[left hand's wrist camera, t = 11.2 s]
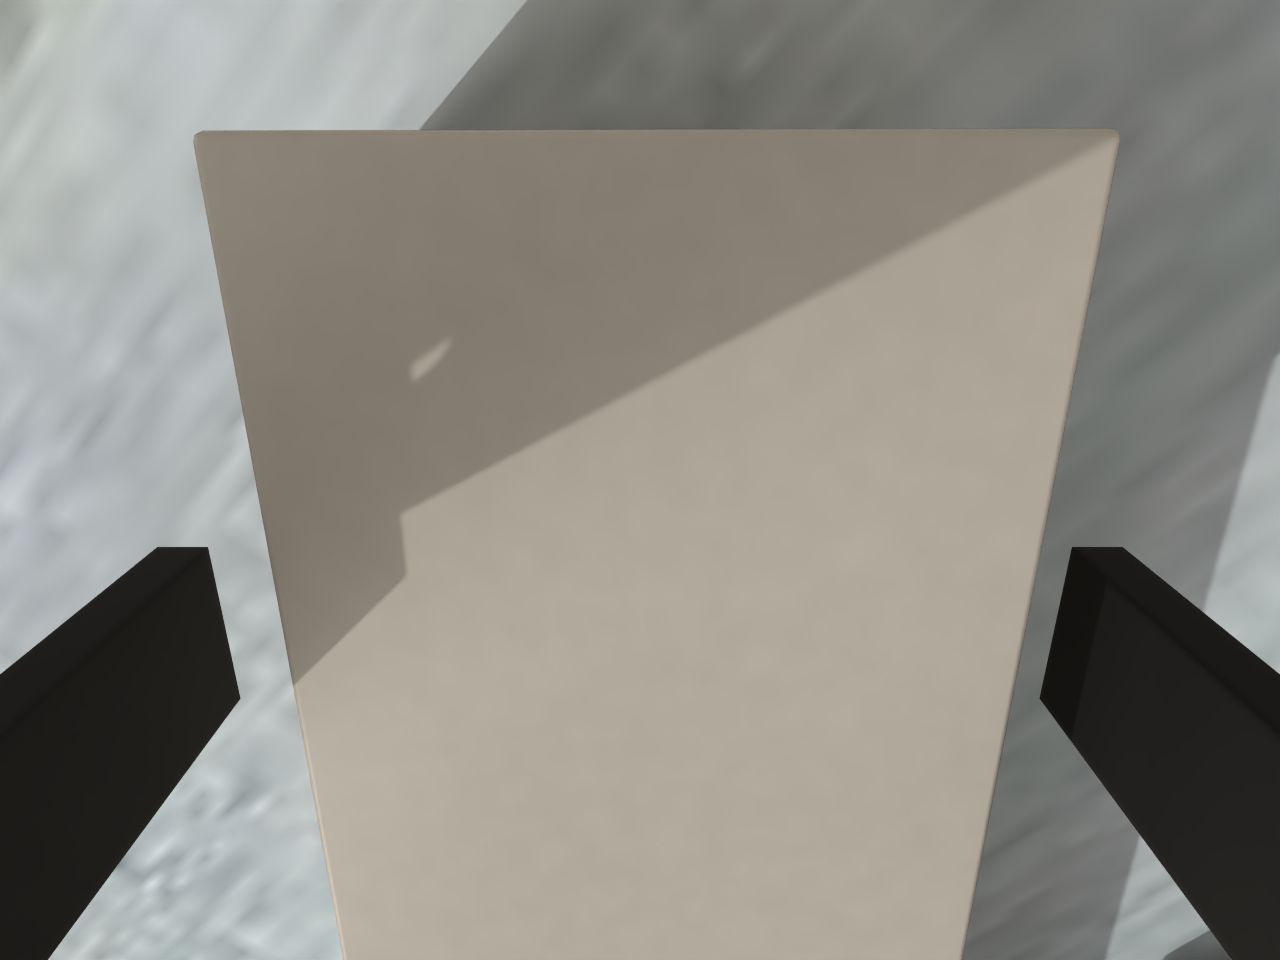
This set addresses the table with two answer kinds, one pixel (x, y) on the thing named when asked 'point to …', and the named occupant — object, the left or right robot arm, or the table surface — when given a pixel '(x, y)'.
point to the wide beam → (655, 516)
